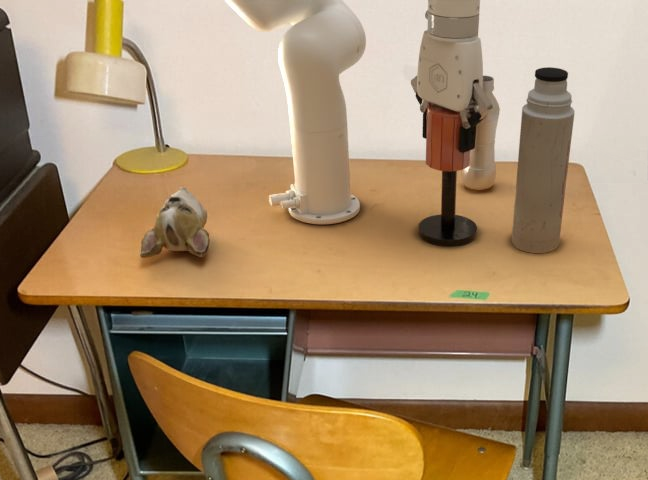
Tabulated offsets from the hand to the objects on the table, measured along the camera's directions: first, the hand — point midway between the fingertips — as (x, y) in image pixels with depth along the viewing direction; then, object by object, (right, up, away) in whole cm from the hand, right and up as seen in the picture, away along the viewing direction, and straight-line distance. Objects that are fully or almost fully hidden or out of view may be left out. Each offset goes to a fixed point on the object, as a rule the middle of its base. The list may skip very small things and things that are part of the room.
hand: (448, 142), depth 135 cm
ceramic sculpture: (-44, -16, +3) cm, 46 cm away
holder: (0, -12, +10) cm, 16 cm away
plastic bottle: (+6, -1, +25) cm, 26 cm away
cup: (0, -3, +2) cm, 3 cm away
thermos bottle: (+15, -15, +8) cm, 22 cm away
